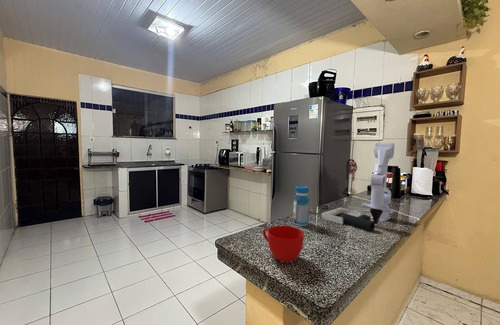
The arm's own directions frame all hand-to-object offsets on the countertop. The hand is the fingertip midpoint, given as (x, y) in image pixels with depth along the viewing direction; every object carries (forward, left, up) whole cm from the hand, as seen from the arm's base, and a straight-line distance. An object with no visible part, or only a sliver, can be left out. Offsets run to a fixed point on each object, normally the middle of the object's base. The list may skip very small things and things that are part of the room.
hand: (375, 223), depth 116 cm
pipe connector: (+4, -6, -2) cm, 7 cm away
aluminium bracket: (0, -19, -2) cm, 19 cm away
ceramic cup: (+63, -9, -2) cm, 64 cm away
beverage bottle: (+28, -27, -2) cm, 39 cm away
